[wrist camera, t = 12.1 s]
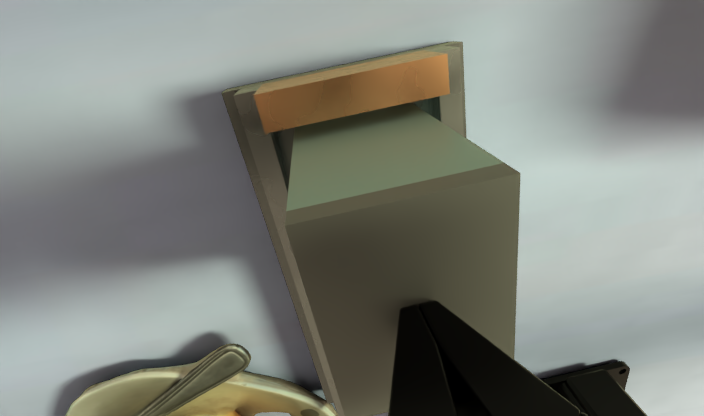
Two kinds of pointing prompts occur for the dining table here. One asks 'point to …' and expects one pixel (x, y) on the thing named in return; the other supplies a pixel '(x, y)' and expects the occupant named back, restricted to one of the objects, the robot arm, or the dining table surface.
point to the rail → (325, 104)
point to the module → (398, 238)
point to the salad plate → (199, 391)
